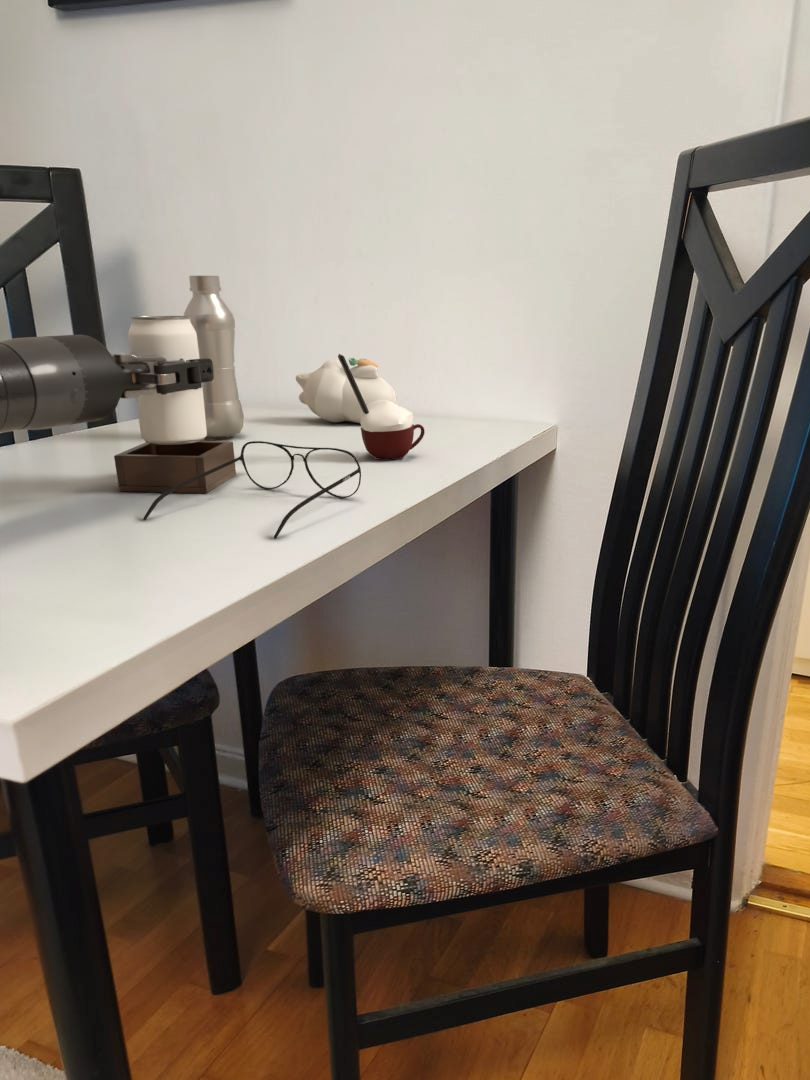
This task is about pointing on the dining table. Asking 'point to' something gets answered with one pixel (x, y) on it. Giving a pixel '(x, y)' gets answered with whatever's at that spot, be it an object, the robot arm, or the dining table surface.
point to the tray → (174, 466)
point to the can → (176, 411)
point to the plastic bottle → (216, 356)
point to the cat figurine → (343, 390)
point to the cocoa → (384, 424)
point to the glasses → (276, 486)
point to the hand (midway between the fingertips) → (182, 367)
